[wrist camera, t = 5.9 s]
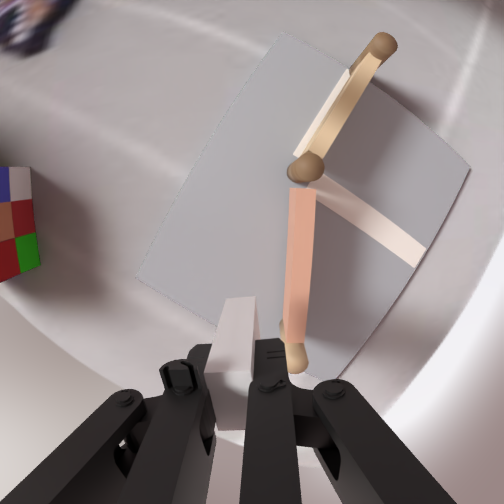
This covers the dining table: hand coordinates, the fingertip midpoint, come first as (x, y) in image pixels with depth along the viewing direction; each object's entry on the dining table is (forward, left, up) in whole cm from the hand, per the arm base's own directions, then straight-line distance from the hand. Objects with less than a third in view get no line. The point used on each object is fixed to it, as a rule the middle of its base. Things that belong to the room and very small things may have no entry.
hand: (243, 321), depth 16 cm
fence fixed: (-14, -1, -9) cm, 16 cm away
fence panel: (-2, +2, -8) cm, 9 cm away
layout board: (-7, +2, -10) cm, 12 cm away
